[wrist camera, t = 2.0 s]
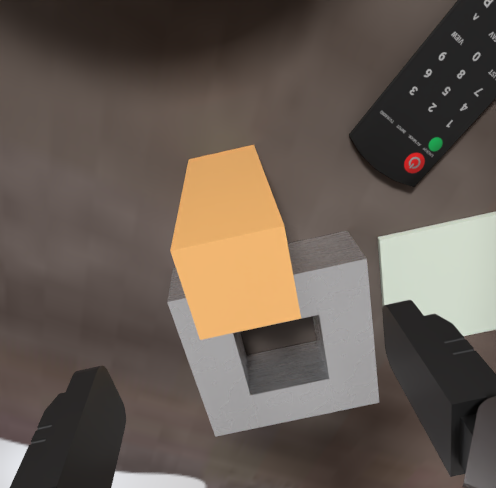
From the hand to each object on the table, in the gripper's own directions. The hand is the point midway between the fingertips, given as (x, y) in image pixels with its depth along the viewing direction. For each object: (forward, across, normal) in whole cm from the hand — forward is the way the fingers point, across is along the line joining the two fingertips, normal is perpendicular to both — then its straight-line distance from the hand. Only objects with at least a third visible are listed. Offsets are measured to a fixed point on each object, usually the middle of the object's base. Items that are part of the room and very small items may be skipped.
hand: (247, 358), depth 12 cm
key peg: (+16, 0, 0) cm, 16 cm away
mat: (+16, -14, +11) cm, 24 cm away
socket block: (+16, -1, +11) cm, 19 cm away
